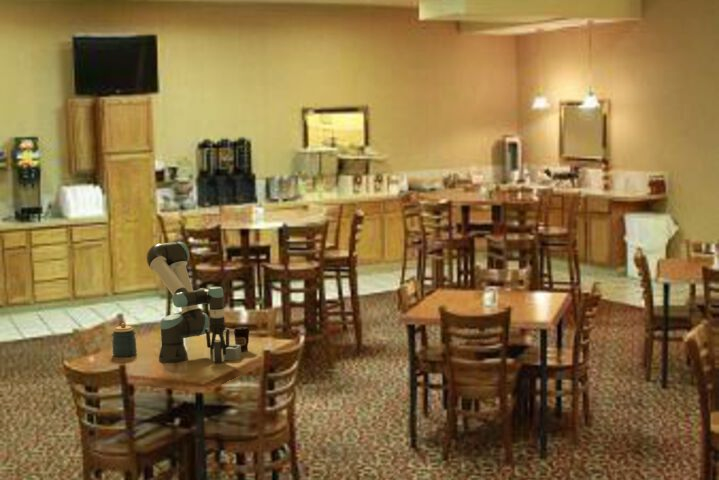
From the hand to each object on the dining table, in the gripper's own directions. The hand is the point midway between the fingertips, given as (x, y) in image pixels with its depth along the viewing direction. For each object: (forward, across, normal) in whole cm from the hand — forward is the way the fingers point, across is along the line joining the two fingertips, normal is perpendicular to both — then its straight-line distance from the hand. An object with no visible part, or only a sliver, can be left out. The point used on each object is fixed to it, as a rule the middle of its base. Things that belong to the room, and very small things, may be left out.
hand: (218, 360), depth 526 cm
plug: (+1, 0, 0) cm, 1 cm away
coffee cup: (+1, +5, +27) cm, 27 cm away
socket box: (+1, 0, +11) cm, 11 cm away
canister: (+1, -58, +15) cm, 60 cm away
